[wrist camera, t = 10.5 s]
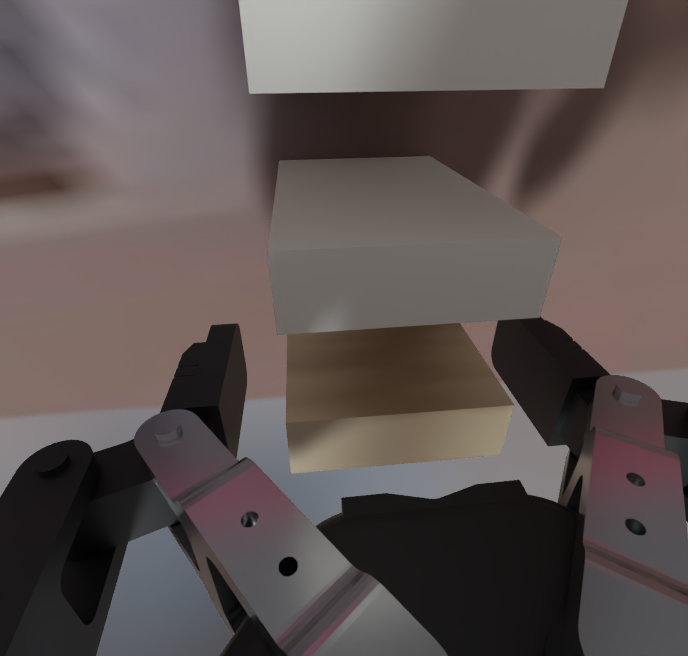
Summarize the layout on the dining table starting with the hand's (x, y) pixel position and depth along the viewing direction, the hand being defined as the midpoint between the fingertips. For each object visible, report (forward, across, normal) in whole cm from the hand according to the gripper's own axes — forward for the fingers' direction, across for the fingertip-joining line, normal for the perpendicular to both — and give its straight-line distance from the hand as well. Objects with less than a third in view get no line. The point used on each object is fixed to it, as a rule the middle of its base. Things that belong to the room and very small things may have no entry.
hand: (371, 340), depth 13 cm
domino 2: (+4, 0, -4) cm, 5 cm away
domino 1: (+4, 0, -8) cm, 9 cm away
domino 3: (+4, 0, 0) cm, 4 cm away
